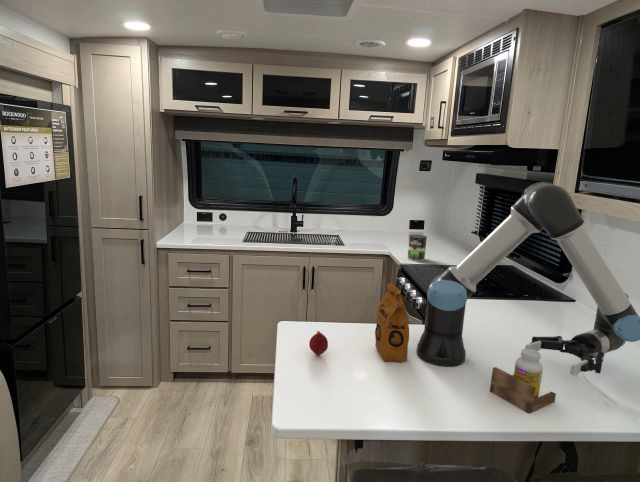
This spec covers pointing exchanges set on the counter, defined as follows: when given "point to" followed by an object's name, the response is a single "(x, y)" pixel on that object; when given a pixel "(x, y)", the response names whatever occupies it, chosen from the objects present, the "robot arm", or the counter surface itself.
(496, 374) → the u-shaped wooden bracket
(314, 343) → the onion
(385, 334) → the coffee package
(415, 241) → the coffee can
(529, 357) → the supplement bottle
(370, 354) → the counter surface
